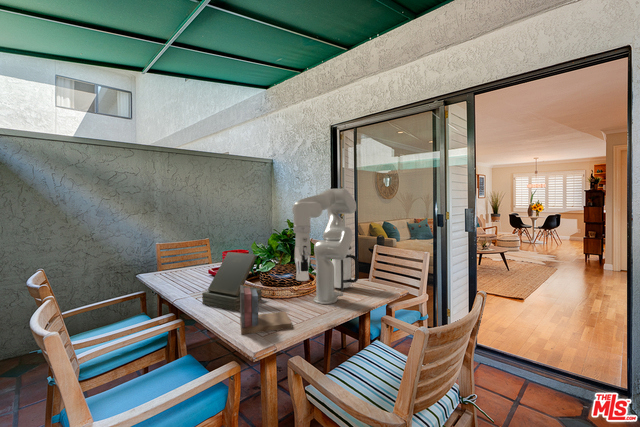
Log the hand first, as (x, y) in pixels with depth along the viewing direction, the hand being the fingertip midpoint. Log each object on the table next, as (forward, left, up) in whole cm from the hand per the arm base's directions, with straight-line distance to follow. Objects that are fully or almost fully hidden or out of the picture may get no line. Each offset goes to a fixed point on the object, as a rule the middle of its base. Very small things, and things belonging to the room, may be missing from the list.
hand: (302, 269), depth 134 cm
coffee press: (-34, -36, -22) cm, 54 cm away
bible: (+30, -32, -22) cm, 49 cm away
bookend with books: (+17, +4, -22) cm, 28 cm away
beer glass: (0, 0, -5) cm, 5 cm away
